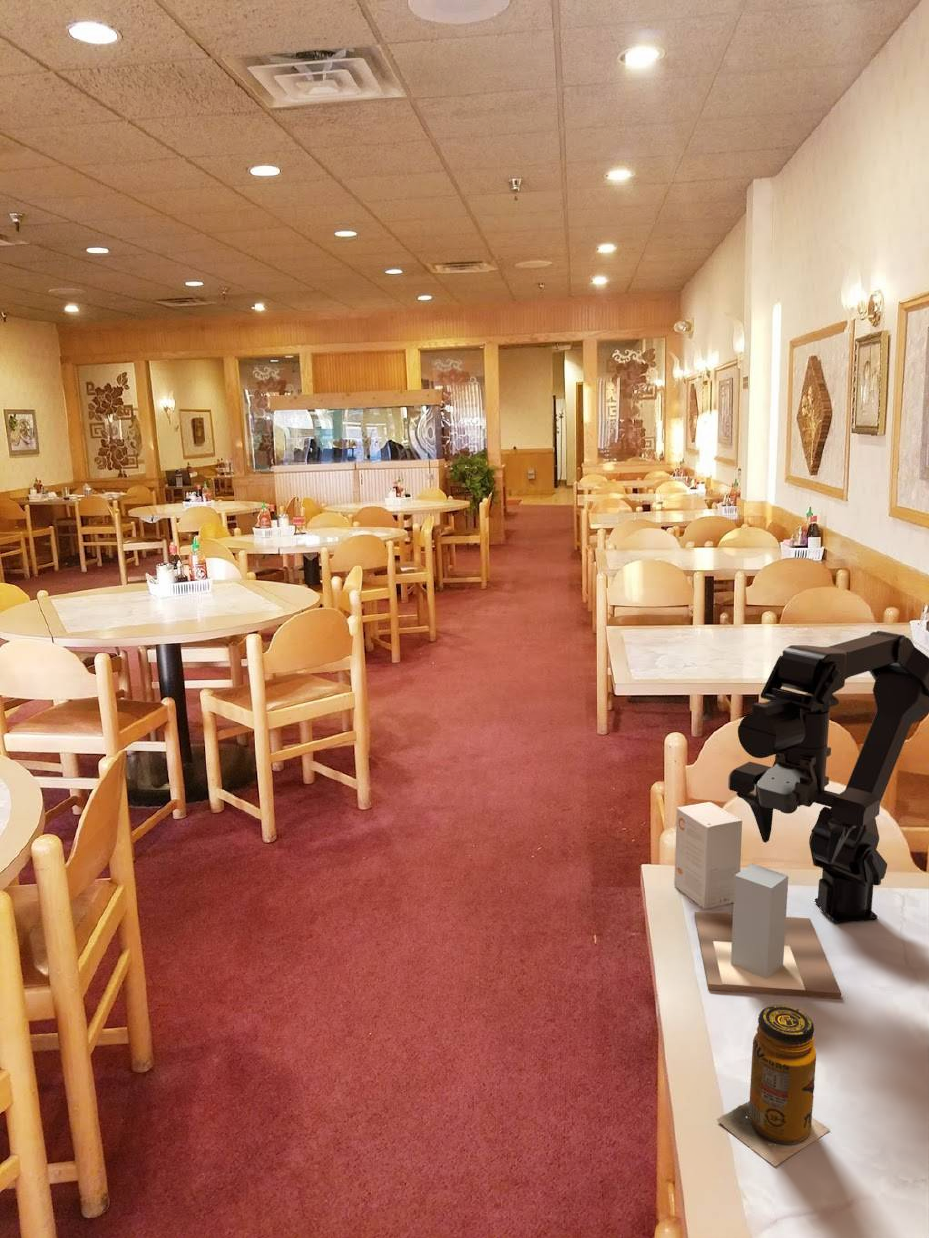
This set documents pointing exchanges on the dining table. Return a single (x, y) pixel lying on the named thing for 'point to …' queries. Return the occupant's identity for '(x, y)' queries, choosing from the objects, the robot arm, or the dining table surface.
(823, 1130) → the condiment
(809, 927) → the brown square board
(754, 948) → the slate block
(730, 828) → the small box
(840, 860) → the robot arm
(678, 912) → the dining table surface
